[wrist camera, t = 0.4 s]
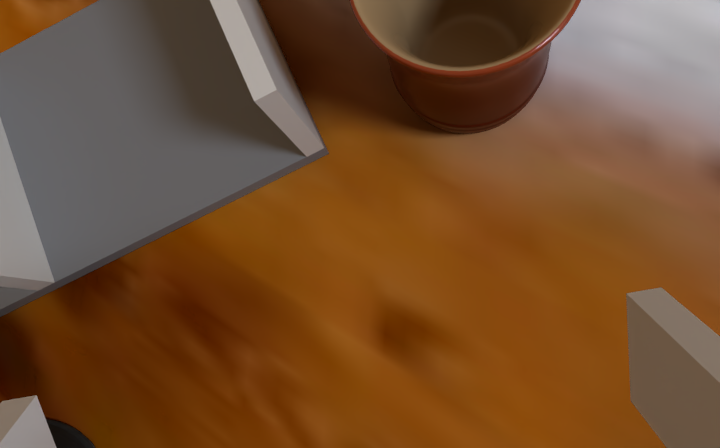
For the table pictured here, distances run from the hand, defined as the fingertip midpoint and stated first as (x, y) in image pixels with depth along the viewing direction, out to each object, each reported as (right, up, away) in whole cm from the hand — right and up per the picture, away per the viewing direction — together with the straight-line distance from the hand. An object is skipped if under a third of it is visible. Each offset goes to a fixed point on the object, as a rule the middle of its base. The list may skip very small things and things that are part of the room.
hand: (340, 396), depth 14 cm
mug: (+5, +12, +19) cm, 24 cm away
